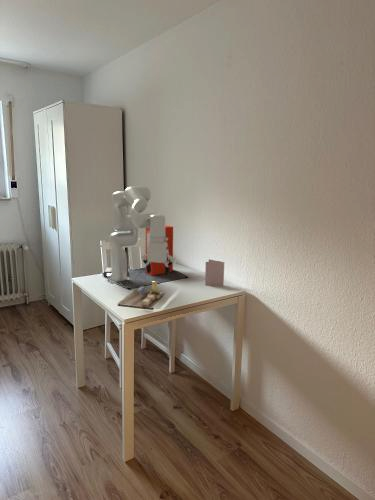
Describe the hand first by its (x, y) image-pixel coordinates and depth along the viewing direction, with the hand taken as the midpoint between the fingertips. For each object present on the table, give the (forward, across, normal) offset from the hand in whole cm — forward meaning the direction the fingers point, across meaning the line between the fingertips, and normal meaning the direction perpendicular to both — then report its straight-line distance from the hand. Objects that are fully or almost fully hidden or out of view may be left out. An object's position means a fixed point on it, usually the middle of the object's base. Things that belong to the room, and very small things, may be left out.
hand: (158, 273), depth 178 cm
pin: (+17, +6, -13) cm, 22 cm away
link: (+17, +7, -7) cm, 19 cm away
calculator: (+19, +48, -51) cm, 72 cm away
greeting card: (+19, -20, -48) cm, 55 cm away
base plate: (+19, +12, -9) cm, 24 cm away
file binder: (+19, +22, -64) cm, 70 cm away
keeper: (+17, +14, -13) cm, 26 cm away
